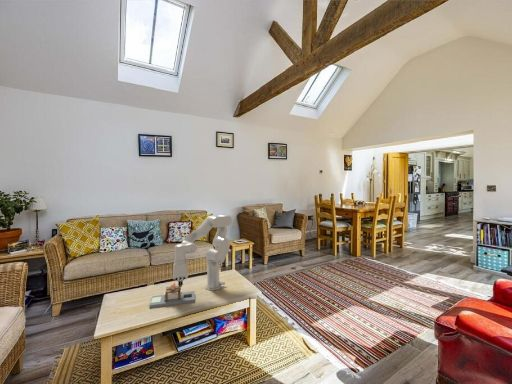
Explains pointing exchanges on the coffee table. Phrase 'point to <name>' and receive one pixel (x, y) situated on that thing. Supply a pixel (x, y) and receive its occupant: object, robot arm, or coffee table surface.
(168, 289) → the tunnel
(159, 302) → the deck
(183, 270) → the robot arm
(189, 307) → the coffee table surface
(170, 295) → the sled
